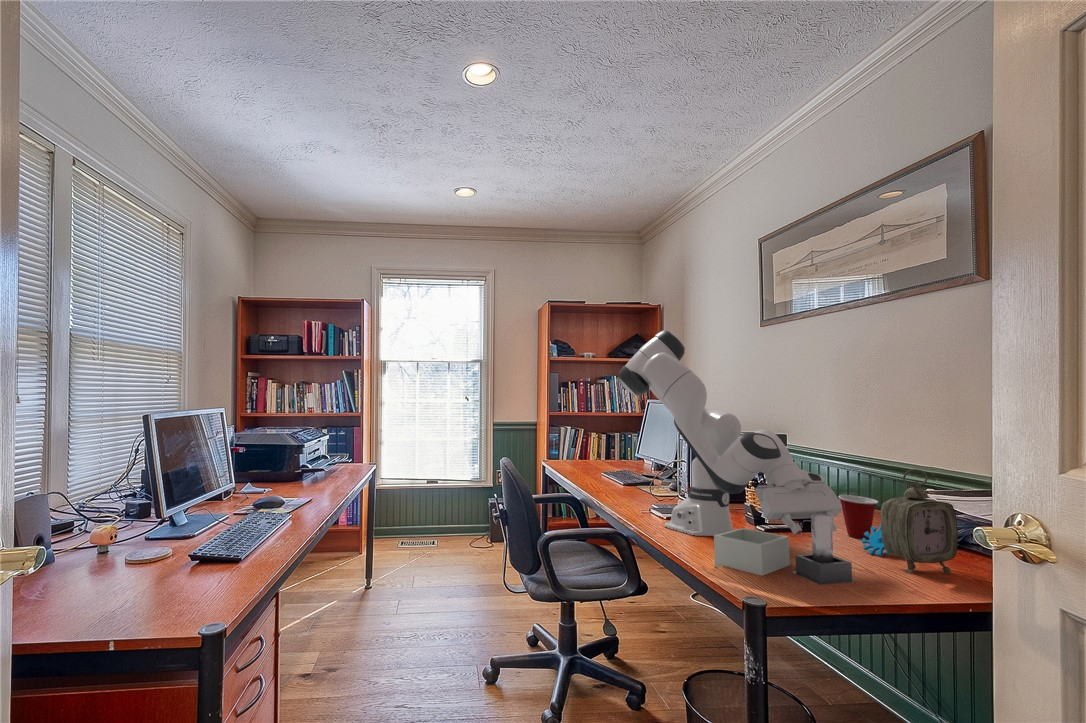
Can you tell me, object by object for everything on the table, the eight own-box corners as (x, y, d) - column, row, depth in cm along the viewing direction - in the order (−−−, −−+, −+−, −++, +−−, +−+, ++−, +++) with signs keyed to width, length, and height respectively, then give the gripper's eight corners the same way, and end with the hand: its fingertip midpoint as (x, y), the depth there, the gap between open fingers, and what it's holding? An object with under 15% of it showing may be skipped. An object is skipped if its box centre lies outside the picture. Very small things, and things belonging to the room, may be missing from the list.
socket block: (791, 575, 136) (790, 554, 137) (826, 572, 139) (826, 551, 139) (820, 589, 127) (819, 566, 127) (858, 585, 129) (857, 563, 129)
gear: (852, 544, 158) (874, 518, 160) (863, 557, 160) (884, 531, 162) (887, 560, 148) (909, 532, 150) (898, 574, 149) (920, 546, 151)
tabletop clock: (908, 580, 133) (903, 472, 134) (878, 568, 141) (874, 468, 143) (960, 575, 135) (954, 470, 137) (927, 564, 144) (922, 466, 146)
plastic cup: (879, 543, 166) (878, 501, 167) (838, 538, 172) (836, 498, 172) (880, 535, 175) (878, 496, 176) (841, 531, 181) (839, 493, 182)
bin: (714, 567, 143) (713, 535, 144) (743, 558, 152) (742, 527, 152) (762, 579, 133) (761, 545, 134) (789, 569, 142) (788, 536, 142)
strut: (808, 575, 133) (806, 515, 134) (818, 571, 136) (815, 512, 137) (829, 580, 129) (826, 518, 130) (838, 576, 132) (835, 515, 133)
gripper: (756, 478, 140) (782, 526, 130) (827, 475, 145) (858, 522, 135) (747, 493, 145) (771, 541, 134) (816, 490, 149) (845, 536, 139)
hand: (815, 531), depth 135 cm, fingers open, 8 cm apart
